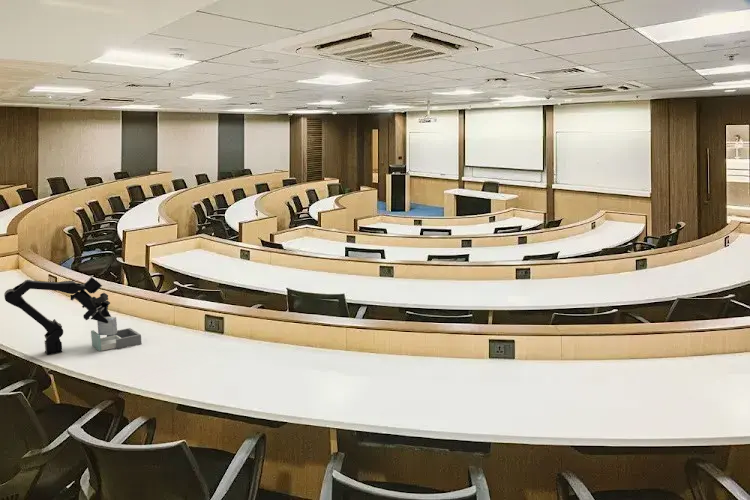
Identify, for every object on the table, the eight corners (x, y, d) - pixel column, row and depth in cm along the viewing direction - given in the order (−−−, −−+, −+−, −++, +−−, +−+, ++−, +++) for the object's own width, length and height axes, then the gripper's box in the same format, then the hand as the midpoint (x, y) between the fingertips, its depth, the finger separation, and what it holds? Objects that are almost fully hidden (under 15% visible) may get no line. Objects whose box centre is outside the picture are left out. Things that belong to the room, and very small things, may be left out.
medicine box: (117, 332, 286) (116, 316, 285) (113, 335, 282) (112, 318, 280) (102, 332, 286) (100, 316, 284) (98, 335, 281) (96, 318, 280)
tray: (99, 351, 276) (98, 336, 275) (91, 345, 286) (90, 330, 284) (125, 345, 285) (124, 330, 283) (117, 339, 294) (115, 325, 293)
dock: (117, 349, 280) (116, 339, 280) (107, 341, 292) (106, 332, 291) (141, 344, 288) (140, 334, 288) (130, 336, 300) (130, 327, 299)
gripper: (88, 293, 271) (112, 315, 273) (105, 285, 289) (127, 305, 291) (72, 309, 272) (97, 330, 274) (91, 299, 290) (113, 320, 292)
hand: (109, 321), depth 283 cm, fingers closed on medicine box, 4 cm apart
